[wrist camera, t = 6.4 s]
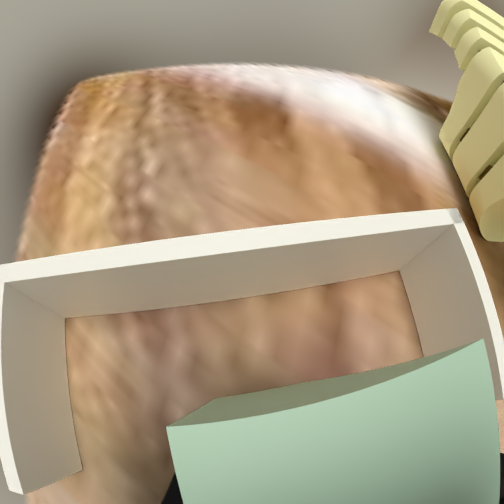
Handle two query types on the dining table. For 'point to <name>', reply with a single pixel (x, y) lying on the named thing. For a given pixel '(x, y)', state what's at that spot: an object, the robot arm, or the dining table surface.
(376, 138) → the dining table surface
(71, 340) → the dining table surface
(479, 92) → the slatted curved stool
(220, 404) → the block
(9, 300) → the cream u-shaped wall
